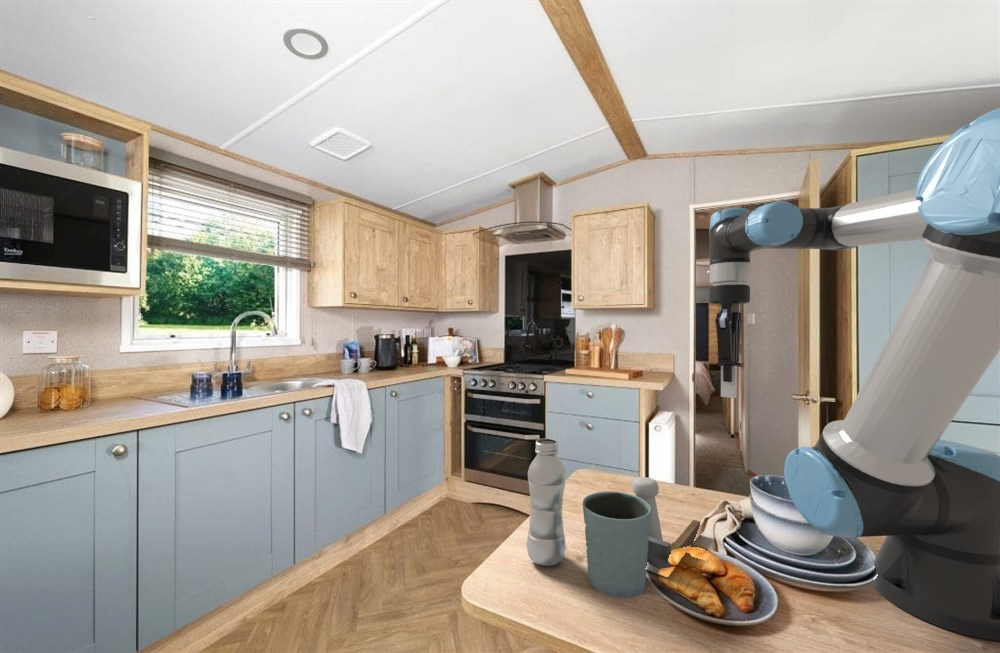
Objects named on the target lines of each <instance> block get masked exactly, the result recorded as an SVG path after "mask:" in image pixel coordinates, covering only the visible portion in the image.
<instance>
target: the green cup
mask: <svg viewBox="0 0 1000 653" xmlns="http://www.w3.org/2000/svg"><path fill="white" fill-rule="evenodd" d="M582 510H583V521H584V524H585V526H584V527H585V528H584V533H585V541H586V542H585V547H586V558H587V561H586V562H587V576H588V580H589V582H590V584H591V586H592V587H593V588H594V589H595V590H597V591H598V592H599V593H602V594H604V595H606V596H609V597H612V598H616V599H617V598H618V599H632V598H636V597H638V596H640V595H642V594H643V592H644V591H645V588H646V584H647V582H646V581H647V571H646V569H645V568H646V566H647V559H648V556H647V554H648V541H649V528H650V518H651V507H650V505H649V504H648V503H647V502H646V501H644V500H643V499H641V498H639V497H637V496H636V495H634V494H630V493H627V492H623V491H616V490H615V491H613V490H609V491H608V490H606V491H598V492H594V493H590V494H588V495H587V496H585V497H584V498H583V499H582Z"/></svg>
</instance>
